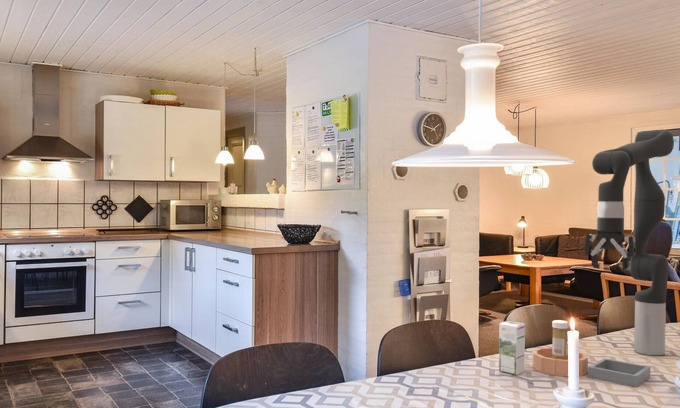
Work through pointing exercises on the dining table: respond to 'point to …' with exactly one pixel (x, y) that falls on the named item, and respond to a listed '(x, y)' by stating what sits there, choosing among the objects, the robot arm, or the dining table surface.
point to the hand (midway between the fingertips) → (609, 269)
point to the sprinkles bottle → (560, 339)
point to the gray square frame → (619, 372)
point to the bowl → (555, 362)
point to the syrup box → (512, 347)
